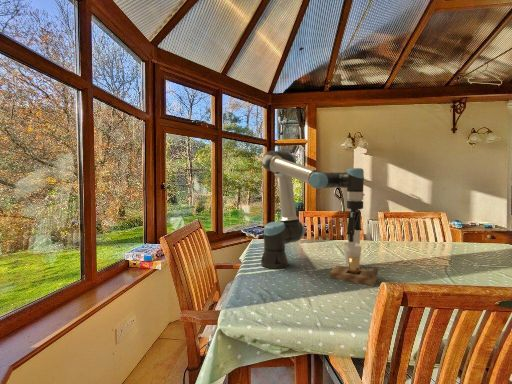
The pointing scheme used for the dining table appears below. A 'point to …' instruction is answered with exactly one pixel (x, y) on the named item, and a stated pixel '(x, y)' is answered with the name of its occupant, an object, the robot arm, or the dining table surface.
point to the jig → (355, 275)
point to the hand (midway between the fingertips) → (354, 245)
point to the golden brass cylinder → (354, 265)
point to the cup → (351, 252)
